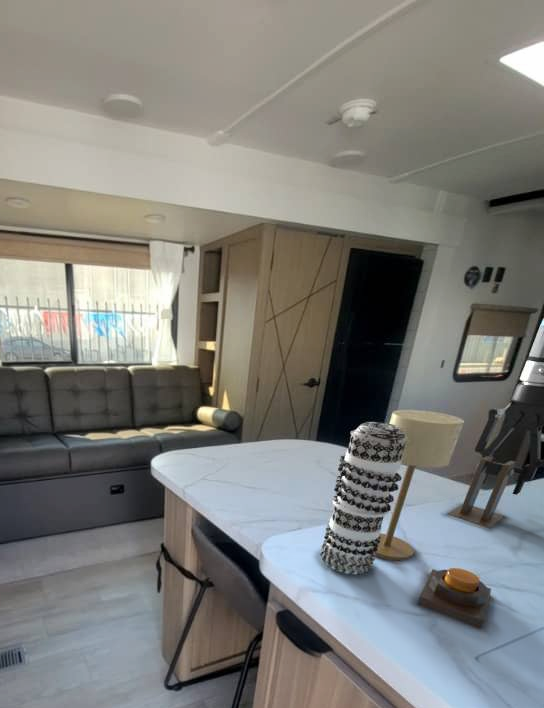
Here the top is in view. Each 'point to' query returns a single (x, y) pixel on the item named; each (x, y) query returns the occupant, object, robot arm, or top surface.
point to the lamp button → (461, 579)
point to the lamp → (418, 464)
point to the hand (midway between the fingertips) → (498, 488)
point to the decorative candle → (363, 496)
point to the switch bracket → (488, 515)
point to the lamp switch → (499, 469)
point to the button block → (455, 600)
